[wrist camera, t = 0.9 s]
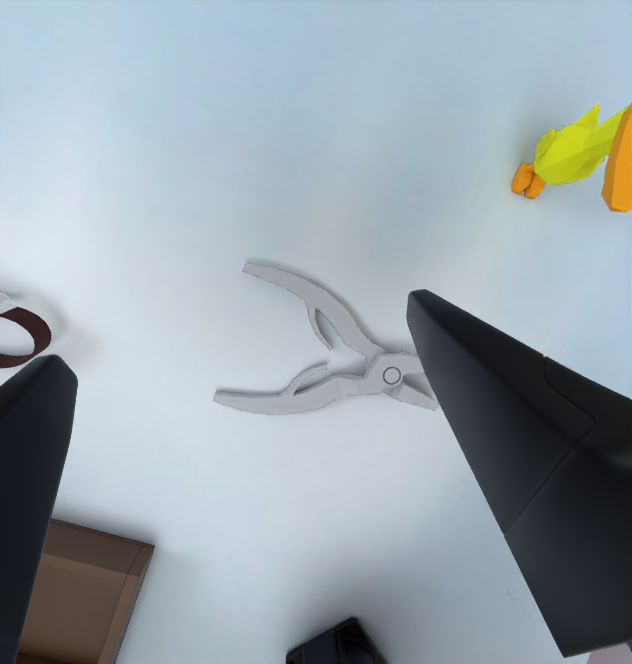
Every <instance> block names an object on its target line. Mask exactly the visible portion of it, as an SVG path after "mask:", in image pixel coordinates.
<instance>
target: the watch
mask: <svg viewBox="0 0 632 664" xmlns="http://www.w3.org/2000/svg"><path fill="white" fill-rule="evenodd" d="M0 317H3V318H6V319H9V320H11V321H14V322H16V323H18V324H19V325H21V326H22V327H24V328H25V329H26V330H27V331H28V332H29V333H30V334H31V336H32V337H33V339H34V344H35V347H34V351H33V353H32V354H29V355H20V356H12V355H4V354H0V368H10V367H15V366H18V365H22V364H23V363H25V362H27V361H29V360H30V359H31V358H33V357H34V356H36V355H37V354H39V353H40V352H42V351H43V350H45V349H46V348H47V347H48V345H49V344H50V341H51V331H50V329H49V327H48V325H47V323H46V322H45V321H44V320H43V319H41V318H40V317H39V316H38V315H36V314H34V313H32V312H30V311H28V310H26V309H23V308H20V307H19V305H12V303H11V302H10V299H9V297H8V296H7V295H5V294H3V293H0Z"/></svg>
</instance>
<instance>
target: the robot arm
mask: <svg viewBox="0 0 632 664" xmlns="http://www.w3.org/2000/svg"><path fill="white" fill-rule="evenodd" d="M407 323H408V327H409V329H410V332H411V335H412V338H413V341H414V344H415V347H416V350H417V353H418V356H419V359H420V362H421V365H422V367H423V370H424V372H425V375H426V377H427V379H428V381H429V383H430V385H431V387H432V389H433V391H434V393H435V395H436V398H437V400H438V402H439V404H440V406H441V408H442V410H443V412H444V414H445V416H446V418H447V420H448V422H449V424H450V426H451V428H452V430H453V432H454V434H455V437H456V439H457V441H458V443H459V445H460V447H461V449H462V451H463V453H464V455H465V457H466V459H467V461H468V463H469V465H470V467H471V469H472V471H473V473H474V476H475V478H476V480H477V482H478V484H479V486H480V488H481V490H482V492H483V494H484V496H485V498H486V500H487V502H488V504H489V506H490V508H491V510H492V512H493V515H494V517H495V519H496V521H497V523H498V525H499V527H500V529H501V531H502V533H503V534H504V538H505V540H506V542H507V544H508V546H509V548H510V550H511V552H512V554H513V556H514V558H515V560H516V562H517V564H518V566H519V568H520V570H521V572H522V574H523V577H524V579H525V581H526V583H527V585H528V587H529V589H530V591H531V593H532V595H533V597H534V599H535V601H536V603H537V605H538V607H539V609H540V611H541V613H542V616H543V618H544V620H545V622H546V624H547V626H548V628H549V630H550V632H551V634H552V636H553V638H554V640H555V642H556V644H557V646H558V648H559V650H560V652H561V654H562V656H563V657H564V658H567V657H571V656H575V655H580V654H584V653H588V652H592V651H597V650H601V649H605V648H609V647H613V646H618V645H623V644H627V645H628V647H629V648H630V650H631V652H632V400H631V399H629V398H627V397H625V396H623V395H621V394H619V393H617V392H614V391H612V390H610V389H608V388H606V387H604V386H602V385H600V384H598V383H596V382H594V381H592V380H590V379H588V378H586V377H584V376H582V375H580V374H578V373H576V372H574V371H572V370H571V369H569V368H567V367H565V366H563V365H561V364H559V363H558V362H556V361H554V360H552V359H550V358H549V357H547V356H545V357H544V356H543V354H541V353H539V352H538V351H536V350H534V349H532V348H531V347H529V346H527V345H525V344H523V343H522V342H520V341H518V340H516V339H514V338H513V337H511V336H509V335H507V334H505V333H504V332H502V331H500V330H498V329H496V328H495V327H493V326H491V325H489V324H487V323H486V322H484V321H482V320H480V319H478V318H477V317H475V316H473V315H471V314H470V313H468V312H466V311H464V310H462V309H461V308H459V307H457V306H455V305H453V304H452V303H450V302H448V301H446V300H444V299H443V298H441V297H439V296H437V295H435V294H434V293H432V292H430V291H428V290H426V289H421V290H416V291H411V292H410V293H409V296H408V305H407ZM77 387H78V380H77V377H76V375H75V373H74V372H73V371H72V370H71V369H70V368H69V366H68V365H67V364H66V363H65V362H64V361H63V359H62V358H61V357H60V356H58V355H54V354H52V355H46V356H41V357H38V358H36V359H34V360H33V361H32V362H30V363H29V364H28V365H27V366H25V367H24V368H23V369H21V370H20V371H19V372H18V373H16V374H15V375H14V376H13V377H11V378H10V379H9V380H7V381H6V382H5V383H4V384H2V385H1V386H0V664H15V661H16V657H17V653H18V649H19V645H20V641H21V638H20V637H21V636H22V632H23V628H24V624H25V620H26V616H27V612H28V608H29V604H30V600H31V596H32V592H33V588H34V584H35V580H36V576H37V572H38V568H39V564H40V560H41V556H42V552H43V548H44V544H45V540H46V536H47V532H48V528H49V524H50V520H51V516H52V512H53V508H54V504H55V500H56V496H57V492H58V488H59V484H60V480H61V476H62V472H63V468H64V464H65V460H66V456H67V452H68V448H69V443H70V439H71V433H72V427H73V419H74V411H75V403H76V395H77ZM352 625H353V626H352ZM286 664H387V663H386V661H385V660H384V658H383V657H382V655H381V654H380V652H379V651H378V649H377V648H376V646H375V645H374V643H373V642H372V640H371V639H370V637H369V636H368V634H367V633H366V631H365V629H364V628H363V626H362V625H361V623H360V622H359V620H358V619H357V618H355V617H352V618H349V619H348V620H346V621H344V622H342V623H340V624H339V625H337V626H335V627H333V628H332V629H330V630H328V631H326V632H325V633H323V634H321V635H319V636H318V637H316V638H314V639H312V640H310V641H309V642H307V643H305V644H303V645H302V646H300V647H298V648H296V649H295V650H293V651H291V652H289V653H288V654H287V655H286Z"/></svg>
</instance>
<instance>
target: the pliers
mask: <svg viewBox="0 0 632 664" xmlns="http://www.w3.org/2000/svg"><path fill="white" fill-rule="evenodd" d="M243 272H245V273H248V274H251V275H254V276H257V277H259V278H262V279H264V280H266V281H269V282H271V283H274V284H276V285H278V286H281V287H283V288H285V289H286V290H288V291H290V292H292V293H294V294H295V295H297V296H299V297H300V298H302V299H304V301H305V303H306V305H307V308H308V314H309V320H310V322H311V325H312V327H313V330H314V332H315V334H316V335H317V336H318V338H319V339H320V340H321V342H322V343H323V344H324V345H325V346H326V347H327V348H328V349H329V350H330V351H331V350H332V346H331V345H330V344H329V343H328V342H327V341H326V340H325V339H324V337H323V336H322V334H321V333H320V332H319V329H318V327H317V324H316V321H315V312H316V308H317V309H318V310H319V311H320V312H321V313H323V314H324V315H325V316H326V318H327V319H328V320H329V322H330V323H331V324H332V326H333V327H334V329H335V330H336V332H337V333H338V335H339V336H340V338H341V339H342V341H343V343H344V344H345V345H346V346H348V347H350V348H351V349H353V350H355V351H357V352H359V353H361V354H362V355H364V356H366V374H365V375H364V377H362V376H357V375H352V374H335V375H333V376H331V377H330V378H328V379H326V380H324V381H322V382H320V383H318V384H316V385H314V386H312V387H310V388H308V389H306V390H302V391H297V392H295V391H296V389H297V387H298V385H299V384H300V383H301V382H302V381H304V380H305V379H306V378H307V377H309V376H311V375H313V374H315V373H317V372H320V371H323V370H325V369H327V366H326V363H324V364H321V365H317V366H314V367H312V368H310V369H308V370H306V371H304V372H303V373H301V374H300V375H299V376H298V377H296V378H295V379H294V380H293V382H292V383H291V384H290V385H289V387H288V388H287V389H286V390H285V391H283V392H282V393H281V394H272V395H249V394H236V393H227V392H219V391H216V393H215V394H214V399H213V401H214V402H217V403H219V404H222V405H225V406H227V407H231V408H234V409H237V410H240V411H246V412H251V413H258V414H268V415H274V414H292V413H300V412H305V411H311V410H314V409H317V408H320V407H323V406H326V405H328V404H329V403H331V402H333V401H335V400H336V399H338V398H340V397H341V396H347V395H364V394H377V393H379V392H380V391H382V392H384V393H386V394H388V395H389V396H391V397H392V398H394V399H395V400H399V401H402V402H406V403H409V404H413V405H416V406H419V407H423V408H426V409H430V410H433V411H435V410H436V408H437V407H438V405H439V403H438V402H437V401H436V400H435V399H433V398H432V397H431V396H429V395H427V394H426V393H424V392H422V391H420V390H418V389H416V388H415V387H413V386H411V385H409V384H407V383H405V382H404V381H402V380H403V375H406V374H414V373H425V372H424V370H423V367H422V365H421V362H420V359H419V356H418V354H413V353H408V352H402V351H401V353H386V351H385V349H383V348H382V347H380V346H378V345H376V344H374V343H372V342H371V341H370V340H369V339H368V338H367V337H366V336H365V335H364V334H363V333H362V332H361V331H360V329H359V327H358V325H357V324H356V322H355V320H354V319H353V317H352V315H351V314H350V313H349V311H348V310H347V309H346V308H345V307H344V306H343V305H342V304H341V303H340V302H339V301H338V300H336V299H335V298H334V297H333V296H332V295H330V294H329V293H328V292H326V291H325V290H323V289H321V288H320V287H318V286H317V285H315V284H313V283H311V282H310V281H308V280H306V279H304V278H302V277H299V276H297V275H294V274H292V273H289V272H286V271H283V270H279V269H276V268H271V267H264V266H257V265H247V264H244V267H243Z"/></svg>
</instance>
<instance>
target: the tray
mask: <svg viewBox="0 0 632 664" xmlns="http://www.w3.org/2000/svg"><path fill="white" fill-rule="evenodd" d="M154 547H155V546H153V545H149V544H146V543H142V542H138V541H134V540H130V539H127V538H123V537H119V536H115V535H111V534H108V533H104V532H100V531H96V530H92V529H89V528H85V527H81V526H77V525H73V524H70V523H66V522H62V521H58V520H54V519H51V520H50V524H49V528H48V532H47V536H46V540H45V544H44V548H43V552H42V556H41V560H40V564H39V568H38V572H37V576H36V580H35V584H34V588H33V592H32V596H31V600H30V604H29V608H28V612H27V616H26V620H25V624H24V628H23V632H22V636H21V637H20V638H21V641H20V645H19V649H18V653H17V657H16V661H15V664H115V661H116V658H117V655H118V652H119V649H120V646H121V643H122V641H123V638H124V635H125V632H126V629H127V626H128V623H129V620H130V617H131V614H132V611H133V609H134V606H135V603H136V600H137V597H138V594H139V591H140V588H141V585H142V582H143V579H144V576H145V574H146V571H147V568H148V565H149V562H150V559H151V556H152V553H153V550H154Z"/></svg>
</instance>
